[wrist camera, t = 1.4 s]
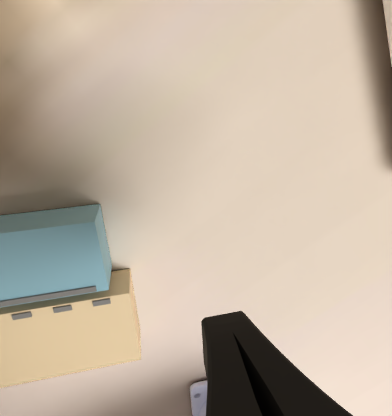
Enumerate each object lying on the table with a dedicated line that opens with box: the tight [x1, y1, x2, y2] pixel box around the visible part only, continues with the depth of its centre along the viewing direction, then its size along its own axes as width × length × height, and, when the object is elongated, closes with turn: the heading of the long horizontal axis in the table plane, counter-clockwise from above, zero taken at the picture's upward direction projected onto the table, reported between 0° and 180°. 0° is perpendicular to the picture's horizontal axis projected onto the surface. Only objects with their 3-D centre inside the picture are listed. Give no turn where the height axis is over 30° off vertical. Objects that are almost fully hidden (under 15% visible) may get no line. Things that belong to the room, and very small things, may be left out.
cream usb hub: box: [0, 269, 141, 388], centre depth 17 cm, size 5×11×2 cm, turn 94°
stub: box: [0, 204, 112, 308], centre depth 15 cm, size 4×6×2 cm, turn 94°
